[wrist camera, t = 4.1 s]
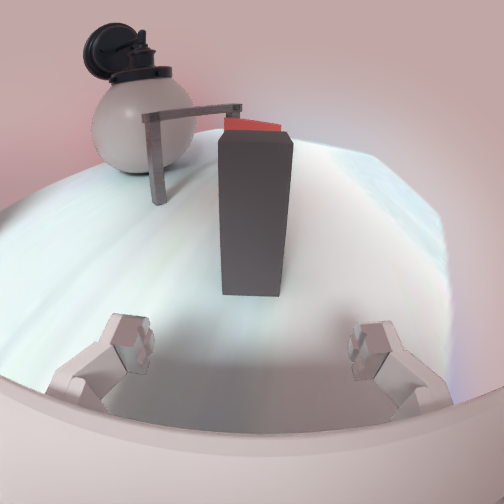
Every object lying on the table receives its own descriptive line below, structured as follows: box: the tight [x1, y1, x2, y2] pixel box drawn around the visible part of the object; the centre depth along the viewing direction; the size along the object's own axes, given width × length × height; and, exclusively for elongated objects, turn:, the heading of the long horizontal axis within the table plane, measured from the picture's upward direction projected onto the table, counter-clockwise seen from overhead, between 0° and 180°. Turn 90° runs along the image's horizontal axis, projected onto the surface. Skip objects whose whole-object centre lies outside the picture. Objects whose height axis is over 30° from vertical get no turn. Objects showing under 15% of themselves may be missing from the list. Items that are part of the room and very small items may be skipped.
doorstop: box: [218, 130, 293, 297], centre depth 21 cm, size 4×4×12 cm
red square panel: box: [224, 117, 281, 132], centre depth 39 cm, size 10×1×10 cm, turn 44°
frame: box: [141, 104, 242, 206], centre depth 38 cm, size 16×2×12 cm, turn 134°
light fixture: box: [83, 23, 196, 173], centre depth 42 cm, size 20×23×33 cm
